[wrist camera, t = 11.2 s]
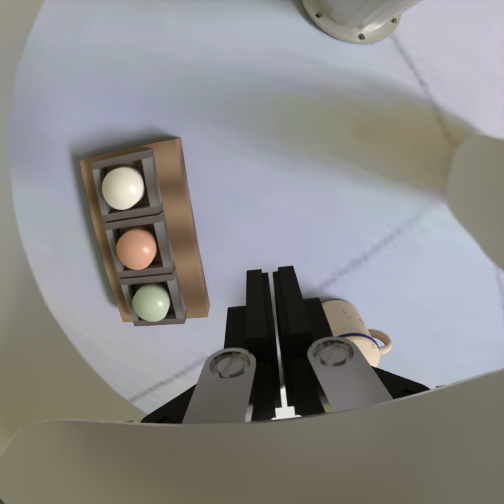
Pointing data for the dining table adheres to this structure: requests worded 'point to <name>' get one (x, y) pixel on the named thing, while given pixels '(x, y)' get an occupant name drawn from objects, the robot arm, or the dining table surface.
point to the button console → (159, 221)
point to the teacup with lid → (355, 330)
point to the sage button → (152, 301)
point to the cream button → (124, 187)
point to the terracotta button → (137, 247)
